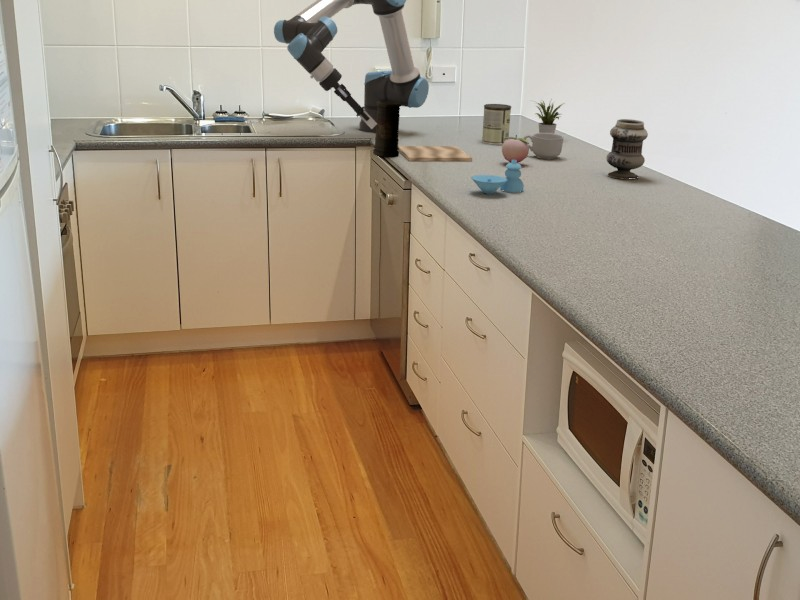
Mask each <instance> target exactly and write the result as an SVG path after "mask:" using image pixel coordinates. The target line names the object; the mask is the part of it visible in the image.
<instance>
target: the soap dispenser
mask: <svg viewBox="0 0 800 600" xmlns="http://www.w3.org/2000/svg"><path fill="white" fill-rule="evenodd" d="M505 168H506V170H505V171H504V175H505V177H504V176H500V175H492V174H478V175H474V176H470V177H471V180H472V181H473V182H474V183H475V185H476V186H477V187H478V188H479V189H480V190H481V192H482V193H483V194H484V193H487V194H486V195H493V194H494V193H496V191H497V190H499V189H502V190H504V191H510V192H509V193H511V192H519V193H521V192H520V191H523V192H524V185H525V184H524V182H523V180H522V179H521V177H522V171H521V169H522V165H521V164H520V163H517V160H512V163H511V162H508V163H507V164H506V165H505ZM504 191H503V192H504ZM492 193H493V194H492Z"/></svg>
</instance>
